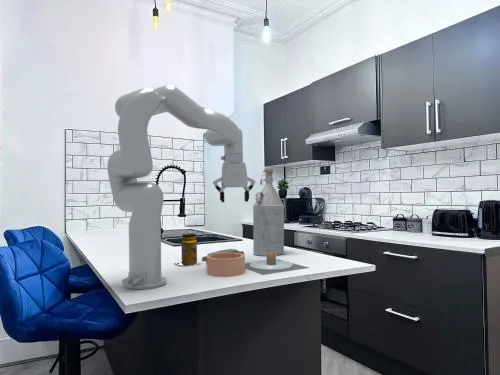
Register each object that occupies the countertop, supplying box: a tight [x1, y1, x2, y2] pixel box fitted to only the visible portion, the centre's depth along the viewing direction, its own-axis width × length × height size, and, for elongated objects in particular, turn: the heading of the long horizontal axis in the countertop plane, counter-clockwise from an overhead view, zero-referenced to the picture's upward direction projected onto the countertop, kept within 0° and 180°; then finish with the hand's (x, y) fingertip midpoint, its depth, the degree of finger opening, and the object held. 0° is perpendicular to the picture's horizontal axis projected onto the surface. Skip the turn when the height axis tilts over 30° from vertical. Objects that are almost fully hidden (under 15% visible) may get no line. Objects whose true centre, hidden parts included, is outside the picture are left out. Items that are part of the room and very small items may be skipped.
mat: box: [245, 258, 310, 276], centre depth 131 cm, size 20×20×1 cm
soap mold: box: [201, 248, 245, 262], centre depth 153 cm, size 10×20×4 cm, turn 153°
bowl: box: [205, 253, 246, 277], centre depth 123 cm, size 13×13×6 cm
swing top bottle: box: [252, 166, 285, 257], centre depth 160 cm, size 13×17×40 cm
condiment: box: [173, 232, 201, 267], centre depth 140 cm, size 7×8×12 cm
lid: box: [249, 251, 293, 271], centre depth 131 cm, size 16×16×5 cm
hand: (234, 201), depth 142 cm, fingers open, 9 cm apart
